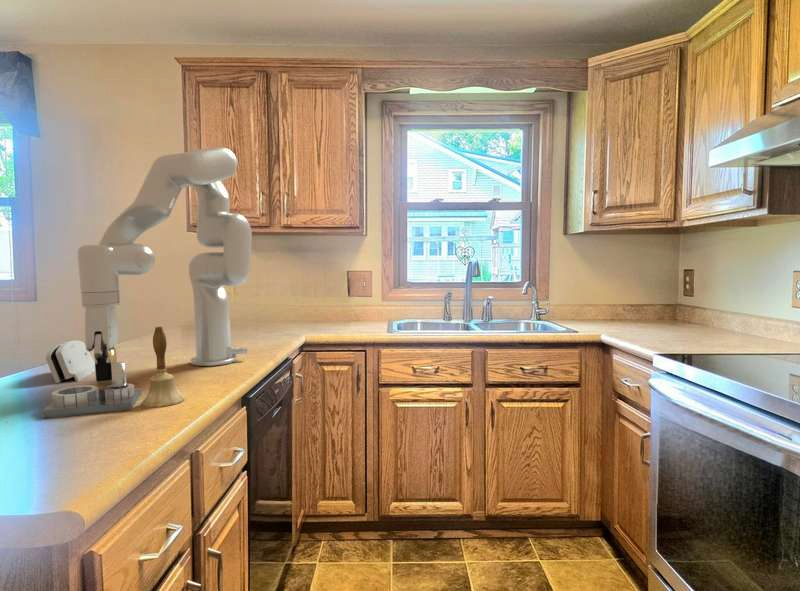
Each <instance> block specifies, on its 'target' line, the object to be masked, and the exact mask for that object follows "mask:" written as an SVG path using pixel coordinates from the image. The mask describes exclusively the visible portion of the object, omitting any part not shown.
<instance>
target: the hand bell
mask: <svg viewBox="0 0 800 591" xmlns="http://www.w3.org/2000/svg"><path fill="white" fill-rule="evenodd" d="M154 328H155V329H154V331H153V332H154V333H153V335H152V345H153V346H152V347H153V350H154V353H155V355H156V356H155V357H156V369H157V370H156V372H157V373H156V374H155V375H153V376H152V377H151V378H150V382H149V389H148V392H147V395H146V397H145V398H144V399H143V400H142V402H141V406H142V407H145V406H147V407H146V408H163V407H169V406H174V405H177V404H180V403H182V402H184V401H185V399H186V398H185V395H183V394H182V393H181V392H180V390H178V388H177V385H176V383H175V376H174V375H173V374H171V373H168V372H167V368H166V357H165V356H166V352H167V344H168V343H167V336H166V333H165V332H164V329H163V326H155V327H154Z"/></svg>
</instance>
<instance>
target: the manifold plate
mask: <svg viewBox="0 0 800 591" xmlns="http://www.w3.org/2000/svg"><path fill="white" fill-rule="evenodd" d="M126 364H127V363H126V362H125V361H117V362H115V363H112V364H111V370H112V385H110V386H105V388H104V390H99V386H97V385H91V384H90V385H86V384H84V385H76V386H74V385H73V386H68V387H64V388H60V389H56V390H54V391H53V392H51V403H50V404H49V405H48V406H46V407H45V408H43V410H42V418H43V419H49V418H59V417H60V418H62V417H71V416H83V415H95V414H104V413H103V412H105V413H115V412H124V411H123V410H126V411H132V410H133V408H134V407H135V405H136V404H137V402H136V401H138V400H139V399H140V397H141V395H142V388H141V387H136V388H135V385H134V384H133V383H127V368H126V366H127V365H126ZM139 396H140V397H139ZM138 398H139V399H138ZM133 406H134V407H133ZM131 409H132V410H131Z"/></svg>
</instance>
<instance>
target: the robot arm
mask: <svg viewBox="0 0 800 591" xmlns="http://www.w3.org/2000/svg"><path fill="white" fill-rule="evenodd" d="M237 169H238V159H237V156H235V153H234V152H233V151H232V150H231V149H229V148H227V147H223V146H218V147H210V148H209V147H208V148H200V149H194V150H193V149H192V150H190V151H189V150H188V151H187V152H179V153H171V154H164V155H161V156H159V157H157V158H156V159H155V160H154V161H153V163H152V164H151V166H150V169H149V170H148V173H147V175H146V177H145V179H144V181H143V183H142V184H141V187H140V188H139V192H138V193H137V195H136V197H135V199H134V200H133V202H132V203H131V204H130V205H128V207H127V208H125V209H124V210H123V211H122V212H121V213H120V214H119V215H118V216H117V217H116V218H115V219H114V220H113V221H112V222H111V223H110V225H109V226H108V227H107V229H106V230H105V232H104V234H103V236H102V237H101V239H100V242H99V244H86V245H82V246H80V247H78V249H77V261H78V264H77V265H78V274H79V276H78V277H79V285H80V298H81V307H82V308H85V311H84V312H85V313H84V334H85V337H84V338H85V345H86V350H87V351H89V352H92V351H93V356H94V355H95V381H109V380H112V370H111V364H112V362H110V349H111V348H116V345H117V344H118V342H119V328H118V327H119V325H118V316H117V308H116V306H119V305H121V296H120V284H119V282H120V281H119V275H120V276H121V275H122V276H125V275H126V276H140V275H144V274H146V273H148V272H150V271H151V270H152V269H153V267H154V265H155V262H156V259H155V254H154V252H153V251H152V249H150V248H149V247H148V246H146V245H143V244H140V243H135V241H136V240H137V239H138V238H139V237H141V236H142V235H143V234H144V233H145V232H147V231H149V230H150V229H152V228H155V227H157V226H158V225H160V224H162V223H163V222H165V221H167V220H168V219H169V218H170V216H171V214H172V212H173V209H174V206H176V205H175V204H176V202H177V200H178V198H179V196H180V194H181V191H182V190H183V189H184V188H188V187H189V188H192V187H193V188H194V191H195V192H196V196H197V221H196V238H197V242H198V243H199V244H200V246H203V247H205V248H210V249H211V248H212V249H221V248H222V249H223V252H221V251H220V252H219V251H215V252H214V251H213V252H212V251H211V252H208V251H207V252H202V253H198V254H196V255H195V256H193V257H192V258H191V260H190V262H189V264H188V275H189V278H190V279H189V280H190V283H191V287H192V293H193V294H192V295H193V312H194V313H193V314H194V316H193V317H194V337H195V338H194V339H195V356H194V357H191V358H190V364H191V365H192V366H200V367H204V366H205V367H209V366H210V367H211V366H221V365H228V364H231V363H234V362H236V361H237V360H238V359H237V358H238V356H237V355H247V354H248V347H246V346H245V347H243V346H240V347H235V346H233V343H231V341H232V340H231V318H230V316H231V315H230V314H231V313H230V299H229V295H228V292H227V290H226V289H225V287H239V286H241V285H243V284H245V283H246V281H247V280H248V278H249V275H250V272H251V271H250V270H251V258H252V256H251V255H252V243H253V242H252V239H253V238H252V237H253V233H252V228H251V224H250V222H249V221H248V220H247V219H246V217H245V216H243V215H242V214H240V213H230V195H229V193H228V191H227V188H226V187H225V186H224V184H223V183H222V181H224V180H225V181H226V180H229V179H230V178H232V177H233V176H234V175H235V174H236V172H237ZM102 348H106V349H103V350H102ZM103 352H106V354H105V353H103ZM105 355H106V356H105Z"/></svg>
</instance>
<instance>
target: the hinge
mask: <svg viewBox="0 0 800 591" xmlns="http://www.w3.org/2000/svg"><path fill="white" fill-rule="evenodd" d="M45 360H46V362H47V365H48V367H49V370H50V372H51V375H52V378H53V380H54V383H56V384H57V383H60V382H63V381H65V380H68V379H71V378H74V380H75V382H76V381H77V382H80V381H81V380H83V379H85V378H86V377H88V376H90V375H91V374H93V373H94V371H95V360H94V357H93V356H92V354H91V352H90V351H87V350H86V342H84V341H82V340H69V341H65V342H63V343H60V344H58V345H56V346H54V347H53V348H51V349H50V350H49V351H48V353H46V356H45ZM92 372H93V373H92ZM89 374H90V375H89ZM87 375H88V376H87ZM84 377H85V378H84ZM79 380H80V381H79Z"/></svg>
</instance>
